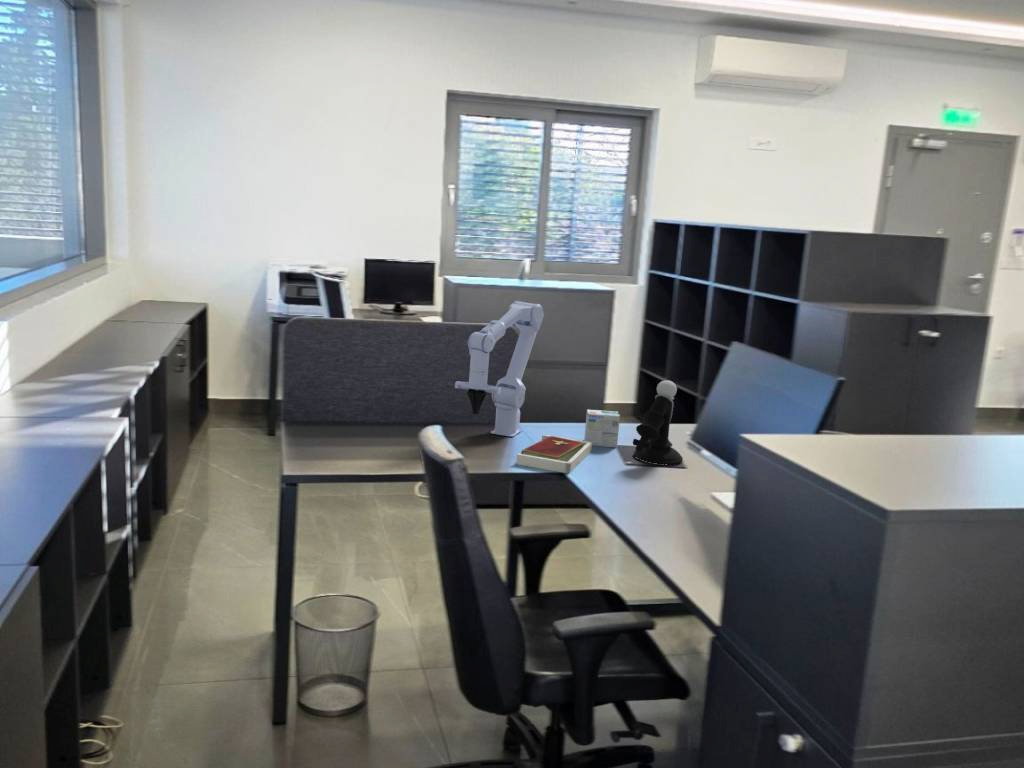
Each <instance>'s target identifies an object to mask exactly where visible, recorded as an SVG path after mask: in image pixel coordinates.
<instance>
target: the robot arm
mask: <svg viewBox="0 0 1024 768" xmlns="http://www.w3.org/2000/svg"><path fill="white" fill-rule="evenodd" d="M544 316H545V313H544V309H543V306H542V305H541V304H539V303H531V302H524V301H519V300H515V301H514V302H513V303H512V304H510V305H509V310H508V311H507V312H506V313H505V314H504V315H502V317H501V318H499V320H498V319H497V320H496V319H495V320H491V321H489V323H488V324H487V325H486V326H485V327H483V328H482V329H481V330H479V331H474V332H473V333H471V334H470V335H469V338H468V340H467V346H468V350H469V353H468V354H469V356H470V363H469V376H468V379H469V380H468V381H459V380H458V381H455V383H454V388H455V389H463V390H468V391H467V393H466V395H467V396H468V398H469V401H470V404H471V409H472V414H474V415H478V414H480V410H481V407H482V404H483V401H484V400H485V397H486V396H487V395H488V393H491V399H492V402H493V403H494V406H495V407H496V409H495V421H494V422H495V424H494V429H493V430H491V431H490V434H493V435H499V436H503V437H504V436H505V437H510V438H514V437H515V436H516V435H518V434H519V433H521V432H522V431H523V430H522V429H520V420H521V410H520V409H521V408H522V406H523V404H524V402H525V399H526V397H525V396H526V395H525V394H526V390H527V388H526V385H524V383H523V381H522V379H523V375H524V374H525V371H526V367H527V365H528V362H529V358H530V355H531V352H532V349H533V346H534V342H535V340H536V336H537V334H538V332H539V331H540V328H541V326H542V323H543V321H544ZM513 325H515V327H516V328H517V329H519V336H518V339H517V341H516V345H515V348H514V351H513V354H512V356H511V359H510V363H509V366H508V369H507V372H506V375H505V376H503V377H502V378H500V379H498V380H497V383H496V385H492V384H491V385H490V384H488V377H489V363H490V362H489V361H490V352H492V351H493V349H494V347H495V345H496V344H497V342H498V341H499V340H500V339H502V337H504V336H505V334H506V330H507V329H508V328H510V327H511V326H513Z"/></svg>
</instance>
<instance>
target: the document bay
mask: <svg viewBox="0 0 1024 768" xmlns="http://www.w3.org/2000/svg"><path fill="white" fill-rule="evenodd" d="M541 436H542V437H541V441H542V440H544V439H546V438H548V437H550V436H551V435H549V434H542V435H541ZM554 436H555V435H554ZM555 437H557V436H555ZM559 437H560V438H563V437H561V436H559ZM564 438H565V439H569V440H574V441H579V442H584V443H585V444H583V448H582V449H580V450H579V451H578V452H577V453H576V454H575V455H574V456H573V457H572V458H571V459H570V460H569V461H568V462H565V461H559V460H553V459H547V458H542V457H536V456H530V455H524V454H521V453H517V454H516V461H515V462H516V463H515V464H516V465H518V466H524V467H530V468H536V469H541V470H547V471H552V472H559V473H564V474H571V472H572V471H574V469H576V467H578V466H579V464H581V463H582V461H584V459H585V458H587V457H588V456H589V455H590V454H591V453H592V450H593V449H592V448H593V446H592V442H586V441H584V440H579V439H575V438H574V439H573V438H568V437H564Z"/></svg>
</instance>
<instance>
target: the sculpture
mask: <svg viewBox="0 0 1024 768" xmlns="http://www.w3.org/2000/svg"><path fill="white" fill-rule="evenodd" d="M677 391H678V388H677V385H676V383H674V382H673V381H672V380H667V379H666V380H661V381H660V382H658V384H657V386H656V393H657V394H655V396H654V401H653V403H652V405H651V406H650V409H649V410H646V411H645V412H644V414H643V420H642V422H641V423H640V424H639V425H637V426H636V428H635V429H636V433H637V434H638V435H639V436H640V438H639V439H637V438H633V440H632V445H633V446H635V450H634V451H633V457H634V456H635V457H637V458H639V459H641V460H644V461H647V462H651V463H657V464H664V465H665V464H667V465H673V466H675V465H674V464H679V465H681V464H682V463H683V460H684V459H683V458H684V457H683V456H682V455H681V453H680V452H679V451H677V450H676V449H675V448H673V443H672V442H671V441H670V439H669V437H670V435H669V434H670V424H671V421H672V420H671V419H672V416H673V413H674V412H673V411H674V409H673V408H674V405H675V404H674V401H673V400H674V399H675V395H677ZM635 457H634V458H635ZM681 462H682V463H681ZM680 463H681V464H680Z"/></svg>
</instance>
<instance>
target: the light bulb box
mask: <svg viewBox="0 0 1024 768" xmlns="http://www.w3.org/2000/svg"><path fill="white" fill-rule="evenodd" d="M585 415H586V417H585V429H584V440H583V441H586V442H592V447H594V446H595V447H605V448H606V447H607V448H618V439H619V429H620V420H621V419H620V417H621V415H620V413H619V411H612V410H601V409H600V410H599V409H586V414H585Z"/></svg>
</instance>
